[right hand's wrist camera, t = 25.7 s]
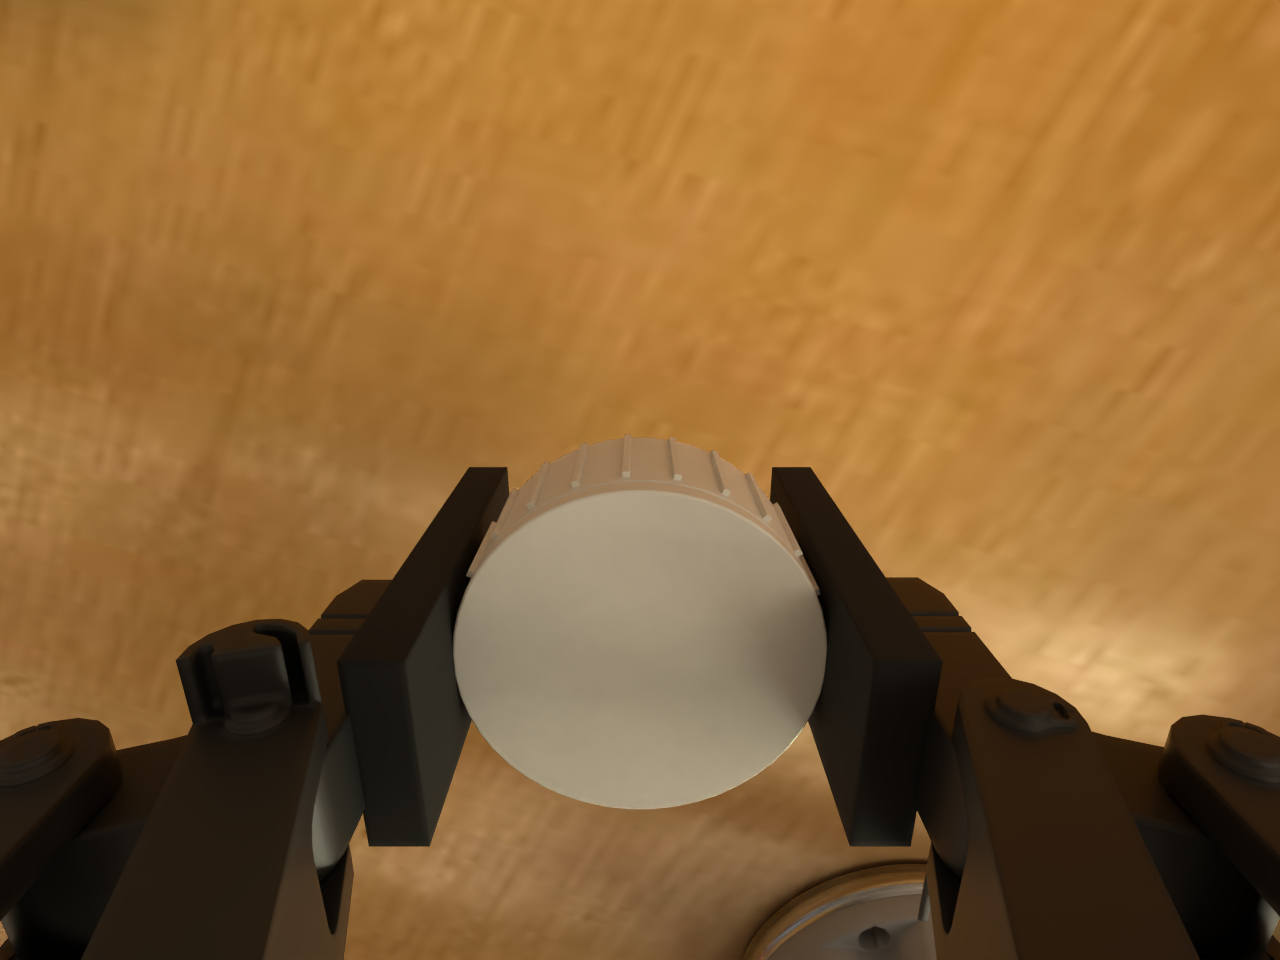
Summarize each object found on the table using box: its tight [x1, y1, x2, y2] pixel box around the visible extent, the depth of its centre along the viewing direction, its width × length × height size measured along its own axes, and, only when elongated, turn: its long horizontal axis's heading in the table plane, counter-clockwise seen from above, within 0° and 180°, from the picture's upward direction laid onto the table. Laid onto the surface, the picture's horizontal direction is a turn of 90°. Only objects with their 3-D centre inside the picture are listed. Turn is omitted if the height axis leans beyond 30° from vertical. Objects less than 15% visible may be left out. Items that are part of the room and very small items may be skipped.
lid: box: [453, 435, 827, 809], centre depth 11 cm, size 5×5×2 cm
